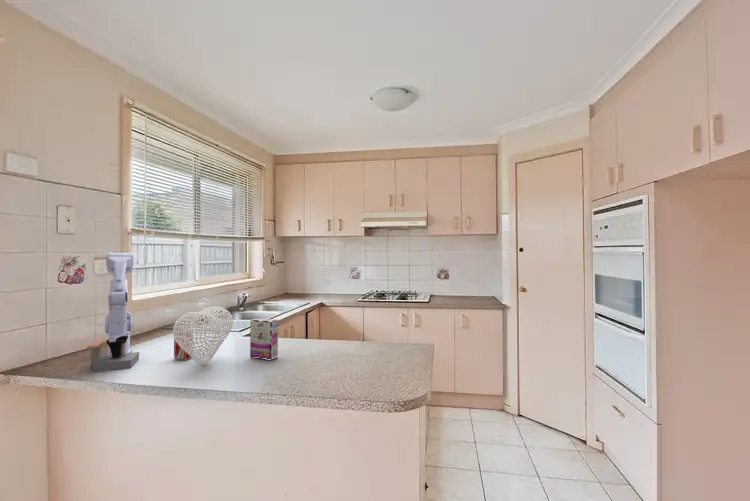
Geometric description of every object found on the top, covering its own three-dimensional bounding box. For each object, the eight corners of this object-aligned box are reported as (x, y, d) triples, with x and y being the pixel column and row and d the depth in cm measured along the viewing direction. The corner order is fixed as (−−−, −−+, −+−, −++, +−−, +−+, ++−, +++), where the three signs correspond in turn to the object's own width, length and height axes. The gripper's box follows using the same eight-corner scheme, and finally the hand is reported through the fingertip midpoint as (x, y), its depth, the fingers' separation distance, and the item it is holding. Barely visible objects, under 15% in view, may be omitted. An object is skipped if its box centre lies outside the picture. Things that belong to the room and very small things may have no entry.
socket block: (97, 362, 148) (97, 339, 148) (138, 359, 153) (139, 336, 153) (85, 371, 137) (86, 346, 137) (130, 368, 142) (131, 343, 142)
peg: (114, 363, 147) (115, 343, 147) (124, 362, 148) (124, 342, 148) (112, 365, 144) (112, 345, 144) (121, 365, 145) (122, 344, 145)
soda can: (184, 361, 151) (185, 332, 151) (169, 360, 153) (170, 331, 153) (196, 356, 158) (196, 328, 158) (181, 355, 160) (182, 327, 160)
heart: (203, 354, 162) (204, 303, 162) (238, 355, 161) (239, 304, 161) (163, 375, 134) (164, 314, 134) (204, 377, 133) (205, 315, 133)
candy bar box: (278, 357, 158) (278, 319, 158) (270, 361, 154) (271, 321, 154) (257, 354, 163) (257, 317, 163) (249, 357, 158) (250, 319, 158)
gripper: (124, 324, 140) (124, 360, 140) (134, 318, 154) (134, 350, 154) (102, 325, 138) (101, 362, 138) (114, 318, 152) (114, 352, 151)
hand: (117, 356), depth 146 cm, fingers closed on peg, 3 cm apart
